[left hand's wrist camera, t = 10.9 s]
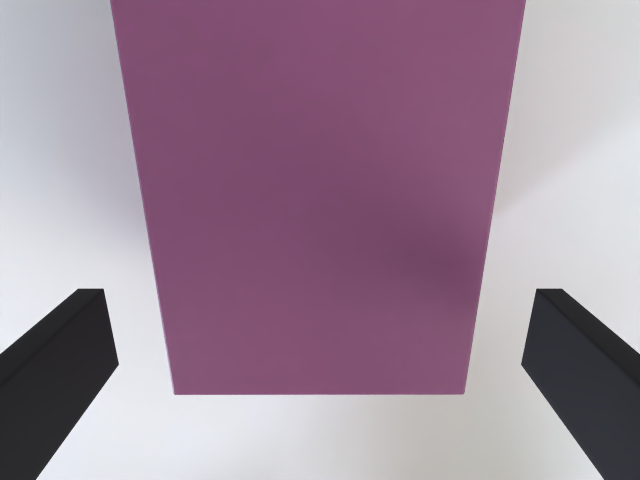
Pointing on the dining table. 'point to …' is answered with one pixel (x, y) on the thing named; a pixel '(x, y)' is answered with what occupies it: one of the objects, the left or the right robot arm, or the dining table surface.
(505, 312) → the dining table surface
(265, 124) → the mauve rectangular box
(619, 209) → the dining table surface
